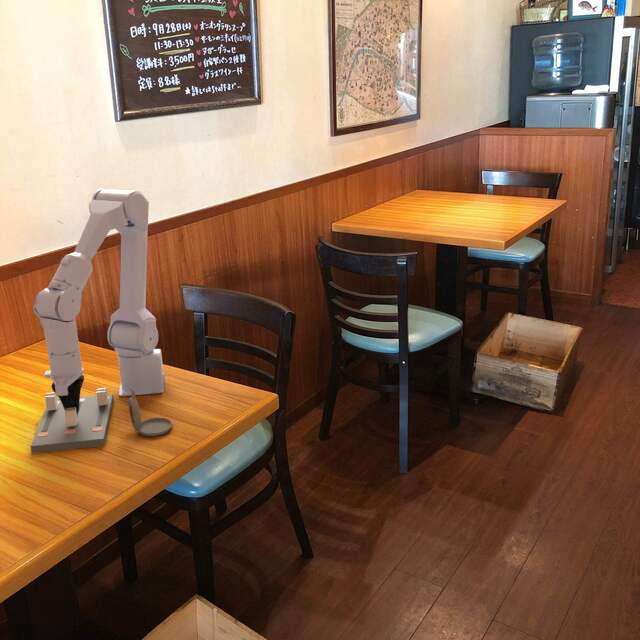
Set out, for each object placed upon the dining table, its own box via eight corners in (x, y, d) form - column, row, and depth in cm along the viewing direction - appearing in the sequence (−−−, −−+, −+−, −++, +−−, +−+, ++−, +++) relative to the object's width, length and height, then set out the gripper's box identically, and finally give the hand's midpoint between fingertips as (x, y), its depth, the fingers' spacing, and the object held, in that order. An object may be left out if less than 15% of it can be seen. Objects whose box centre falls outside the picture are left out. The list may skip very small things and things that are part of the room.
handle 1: (57, 405, 142) (55, 391, 141) (56, 409, 140) (54, 395, 139) (48, 406, 142) (46, 392, 141) (47, 410, 140) (44, 396, 139)
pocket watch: (179, 426, 136) (175, 380, 133) (149, 445, 130) (144, 397, 126) (148, 417, 140) (144, 372, 137) (118, 434, 134) (112, 388, 130)
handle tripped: (77, 421, 135) (75, 406, 134) (76, 425, 134) (74, 410, 132) (68, 421, 135) (66, 407, 134) (66, 426, 133) (64, 411, 132)
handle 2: (108, 400, 144) (106, 386, 143) (107, 404, 142) (105, 390, 141) (99, 401, 143) (97, 387, 142) (98, 405, 142) (96, 391, 141)
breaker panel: (113, 400, 148) (112, 393, 148) (104, 445, 130) (103, 438, 129) (50, 405, 146) (49, 399, 145) (31, 453, 127) (30, 445, 127)
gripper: (48, 338, 137) (57, 399, 142) (33, 366, 124) (44, 433, 128) (85, 335, 138) (93, 396, 143) (74, 362, 125) (84, 429, 129)
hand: (72, 413), depth 136 cm, fingers closed
